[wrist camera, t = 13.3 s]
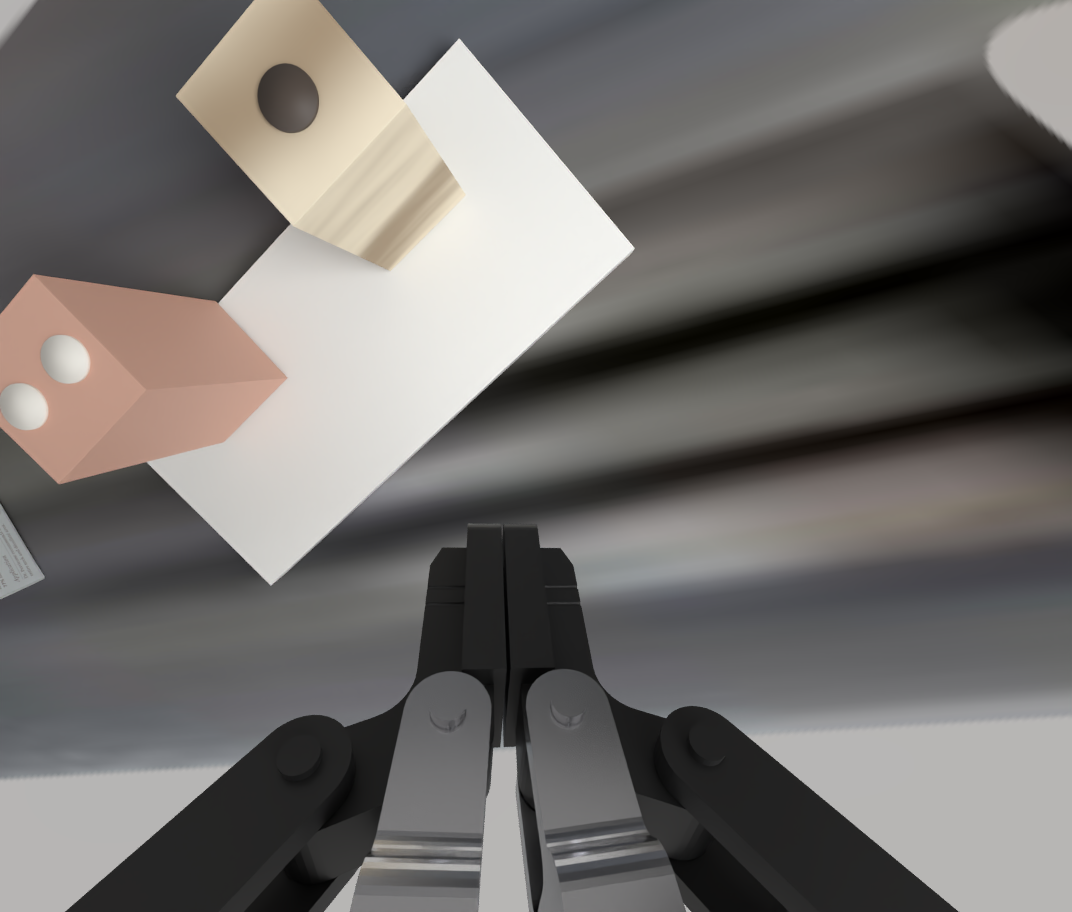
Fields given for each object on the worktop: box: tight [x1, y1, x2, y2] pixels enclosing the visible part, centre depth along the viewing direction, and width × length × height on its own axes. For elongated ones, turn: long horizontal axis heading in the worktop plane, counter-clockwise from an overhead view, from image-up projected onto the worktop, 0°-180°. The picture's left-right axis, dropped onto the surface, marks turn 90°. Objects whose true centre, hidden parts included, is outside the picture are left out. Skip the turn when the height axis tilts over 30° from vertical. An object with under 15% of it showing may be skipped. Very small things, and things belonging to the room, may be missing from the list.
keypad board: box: [147, 39, 635, 585], centre depth 27 cm, size 26×12×1 cm, turn 132°
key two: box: [0, 274, 287, 484], centre depth 22 cm, size 5×5×9 cm
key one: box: [176, 0, 466, 271], centre depth 20 cm, size 5×5×9 cm
